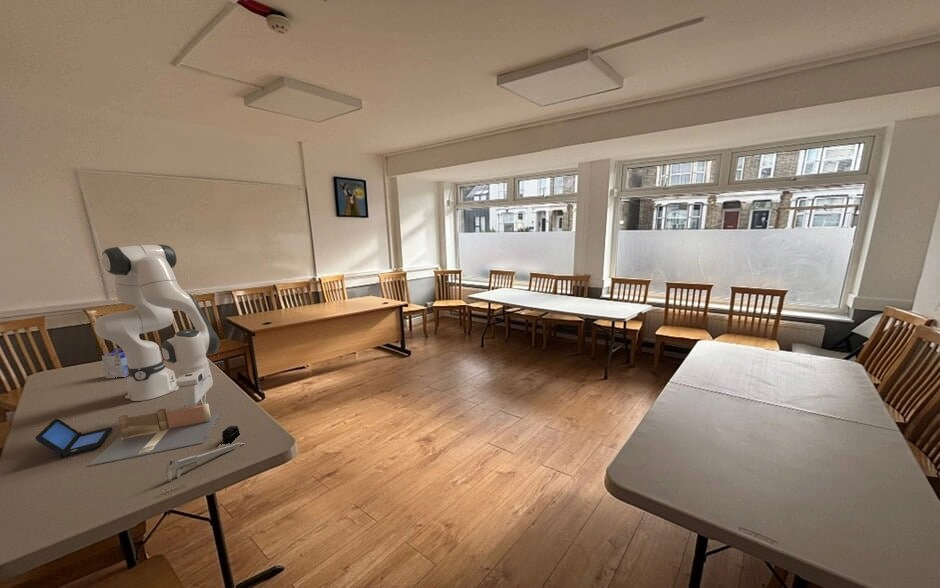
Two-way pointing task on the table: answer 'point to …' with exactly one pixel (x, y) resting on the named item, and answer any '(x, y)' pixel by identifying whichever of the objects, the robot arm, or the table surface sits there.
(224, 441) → the black angular piece
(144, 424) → the fixed fence
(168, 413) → the fence panel
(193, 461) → the caliper
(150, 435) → the board
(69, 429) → the handheld game console
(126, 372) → the ink cartridge box
